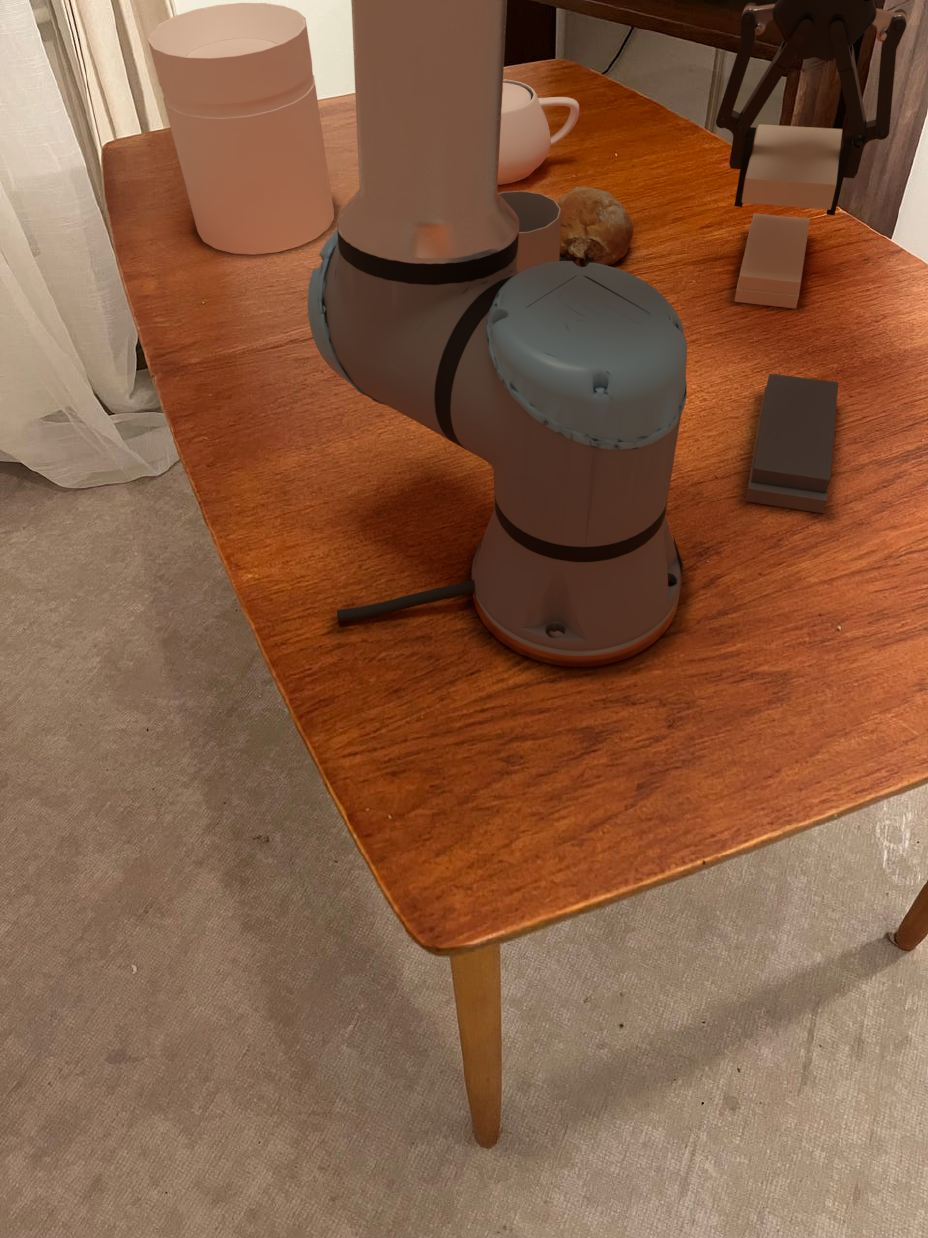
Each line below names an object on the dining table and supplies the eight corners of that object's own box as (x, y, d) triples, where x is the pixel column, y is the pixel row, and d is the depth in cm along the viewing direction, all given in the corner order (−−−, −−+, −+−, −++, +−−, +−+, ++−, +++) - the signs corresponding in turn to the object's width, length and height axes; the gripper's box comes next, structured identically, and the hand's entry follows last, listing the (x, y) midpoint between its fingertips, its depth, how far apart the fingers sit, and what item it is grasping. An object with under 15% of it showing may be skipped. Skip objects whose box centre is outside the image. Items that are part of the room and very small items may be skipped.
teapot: (568, 138, 125) (571, 45, 117) (586, 186, 116) (591, 89, 108) (396, 153, 125) (388, 60, 117) (401, 202, 116) (392, 106, 107)
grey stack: (822, 513, 77) (831, 486, 75) (745, 501, 79) (751, 474, 77) (832, 408, 86) (839, 381, 84) (762, 399, 87) (768, 372, 85)
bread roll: (636, 282, 108) (661, 207, 104) (585, 280, 101) (611, 198, 97) (566, 254, 113) (588, 181, 109) (513, 250, 105) (534, 171, 101)
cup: (550, 333, 96) (553, 235, 88) (468, 327, 97) (463, 230, 90) (562, 288, 101) (565, 192, 94) (484, 283, 103) (481, 188, 95)
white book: (830, 210, 90) (836, 184, 88) (741, 203, 92) (745, 177, 90) (837, 153, 98) (842, 128, 96) (754, 148, 99) (758, 123, 98)
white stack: (795, 308, 97) (801, 282, 95) (734, 301, 98) (738, 276, 96) (805, 240, 106) (811, 215, 103) (748, 234, 107) (753, 209, 105)
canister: (190, 201, 118) (142, 15, 103) (321, 179, 121) (292, -6, 106) (205, 265, 108) (153, 68, 93) (347, 239, 110) (319, 43, 95)
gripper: (976, -79, 80) (897, 196, 97) (716, -86, 84) (684, 178, 101) (980, -51, 75) (896, 232, 92) (704, -60, 80) (672, 212, 97)
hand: (785, 204), depth 97 cm, fingers closed on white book, 8 cm apart
